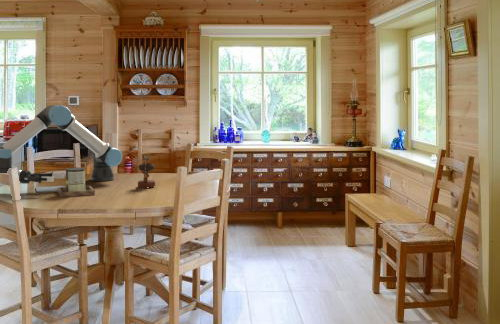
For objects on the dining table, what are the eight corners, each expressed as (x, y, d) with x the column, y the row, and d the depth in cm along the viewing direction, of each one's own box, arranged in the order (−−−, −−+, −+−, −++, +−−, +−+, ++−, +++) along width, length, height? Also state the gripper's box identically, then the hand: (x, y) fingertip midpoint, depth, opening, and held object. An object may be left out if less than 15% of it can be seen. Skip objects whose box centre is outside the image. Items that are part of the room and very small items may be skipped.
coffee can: (62, 193, 287) (61, 168, 286) (77, 191, 296) (77, 167, 294) (74, 195, 282) (73, 170, 280) (89, 193, 290) (88, 168, 288)
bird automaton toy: (157, 188, 308) (154, 155, 305) (138, 190, 305) (135, 157, 302) (154, 184, 322) (151, 153, 320) (136, 186, 319) (133, 154, 317)
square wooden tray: (90, 189, 301) (90, 185, 300) (94, 194, 284) (94, 190, 284) (57, 191, 293) (57, 187, 293) (60, 197, 277) (60, 192, 277)
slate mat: (64, 186, 310) (64, 185, 310) (66, 190, 296) (66, 189, 296) (35, 188, 304) (35, 187, 304) (36, 192, 289) (36, 191, 289)
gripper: (32, 180, 302) (67, 181, 301) (10, 186, 277) (48, 187, 276) (32, 167, 301) (67, 168, 300) (10, 173, 277) (48, 173, 275)
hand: (58, 177), depth 288 cm, fingers open, 13 cm apart
